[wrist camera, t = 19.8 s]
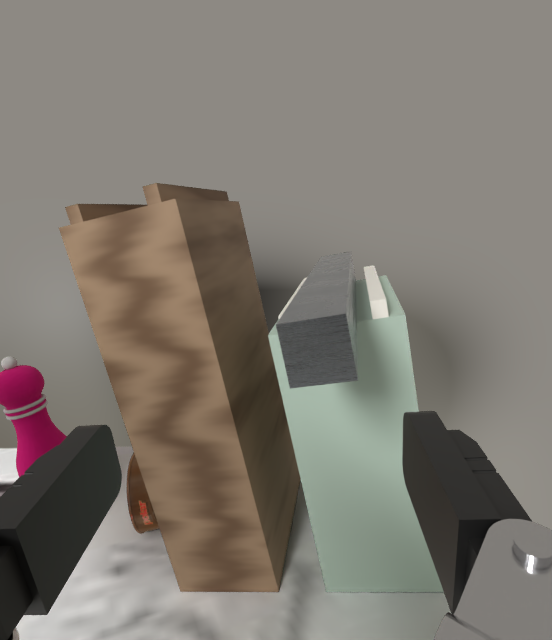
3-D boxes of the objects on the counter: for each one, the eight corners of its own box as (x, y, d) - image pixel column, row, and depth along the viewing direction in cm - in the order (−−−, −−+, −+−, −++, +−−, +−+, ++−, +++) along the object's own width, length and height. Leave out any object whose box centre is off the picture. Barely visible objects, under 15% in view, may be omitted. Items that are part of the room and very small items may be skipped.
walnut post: (180, 591, 35) (53, 210, 27) (230, 480, 49) (155, 209, 41) (278, 591, 33) (170, 179, 25) (300, 475, 47) (235, 189, 39)
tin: (162, 468, 55) (145, 414, 53) (185, 463, 55) (168, 409, 54) (139, 553, 41) (114, 483, 39) (169, 545, 41) (146, 474, 39)
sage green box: (326, 591, 32) (264, 318, 27) (334, 473, 46) (294, 279, 41) (444, 592, 30) (402, 295, 25) (414, 468, 44) (384, 263, 39)
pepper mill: (60, 470, 61) (13, 349, 56) (96, 472, 58) (49, 344, 54) (17, 504, 54) (-40, 370, 50) (55, 507, 52) (-2, 365, 47)
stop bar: (289, 388, 18) (275, 324, 17) (326, 286, 40) (320, 257, 40) (358, 380, 17) (346, 313, 16) (356, 280, 40) (351, 251, 39)
